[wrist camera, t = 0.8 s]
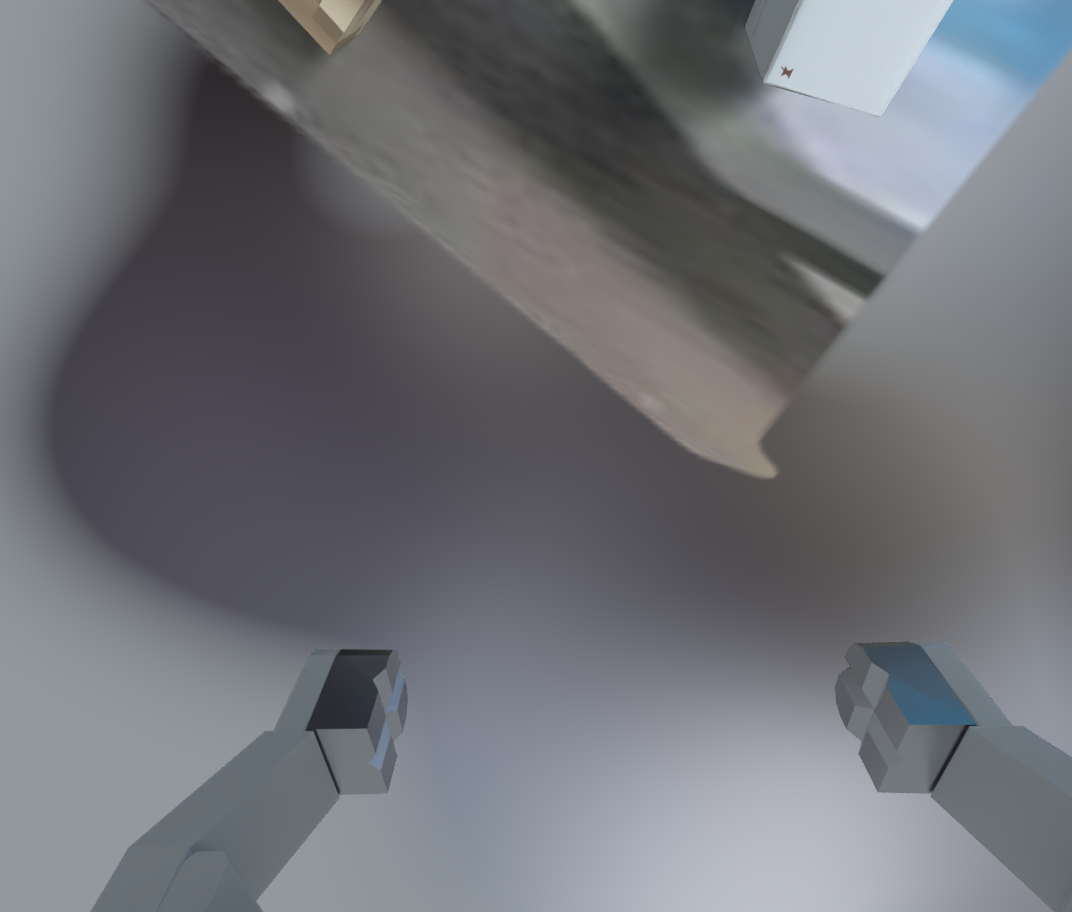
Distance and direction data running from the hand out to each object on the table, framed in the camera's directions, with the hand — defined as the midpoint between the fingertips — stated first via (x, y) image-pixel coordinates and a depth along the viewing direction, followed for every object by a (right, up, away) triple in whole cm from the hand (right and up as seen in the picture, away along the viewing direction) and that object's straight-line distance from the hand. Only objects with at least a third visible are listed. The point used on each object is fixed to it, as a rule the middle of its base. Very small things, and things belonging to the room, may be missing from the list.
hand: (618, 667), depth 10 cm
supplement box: (+17, +36, +27) cm, 48 cm away
